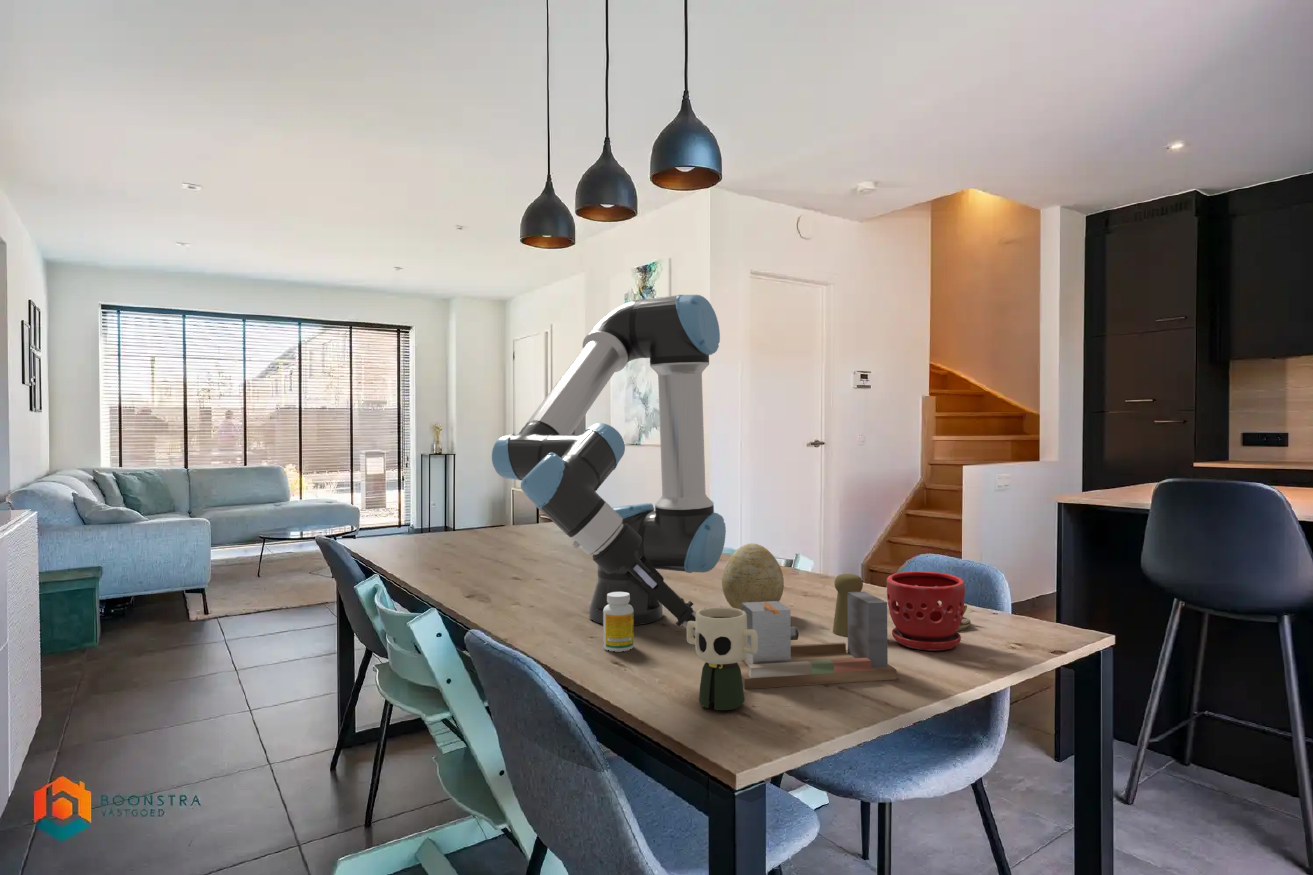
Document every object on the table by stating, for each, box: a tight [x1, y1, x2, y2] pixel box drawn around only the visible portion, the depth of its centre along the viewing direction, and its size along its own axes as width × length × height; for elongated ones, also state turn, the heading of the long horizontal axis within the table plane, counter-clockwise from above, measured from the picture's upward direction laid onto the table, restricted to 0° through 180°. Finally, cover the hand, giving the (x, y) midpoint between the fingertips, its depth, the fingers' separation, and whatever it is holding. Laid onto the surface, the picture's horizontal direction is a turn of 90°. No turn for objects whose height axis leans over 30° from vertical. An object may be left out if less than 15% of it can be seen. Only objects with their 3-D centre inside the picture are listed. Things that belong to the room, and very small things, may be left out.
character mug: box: [686, 606, 758, 711], centre depth 103 cm, size 11×7×13 cm, turn 58°
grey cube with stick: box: [742, 601, 799, 665], centre depth 115 cm, size 8×8×10 cm
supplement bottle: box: [602, 592, 635, 653], centre depth 131 cm, size 5×5×10 cm
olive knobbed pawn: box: [832, 573, 864, 638], centre depth 140 cm, size 6×6×11 cm
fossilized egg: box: [721, 542, 785, 610], centre depth 154 cm, size 13×13×15 cm
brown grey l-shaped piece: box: [737, 591, 897, 690], centre depth 117 cm, size 11×24×12 cm, turn 99°
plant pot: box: [886, 570, 966, 652], centre depth 132 cm, size 13×13×12 cm
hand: (716, 643), depth 115 cm, fingers closed
